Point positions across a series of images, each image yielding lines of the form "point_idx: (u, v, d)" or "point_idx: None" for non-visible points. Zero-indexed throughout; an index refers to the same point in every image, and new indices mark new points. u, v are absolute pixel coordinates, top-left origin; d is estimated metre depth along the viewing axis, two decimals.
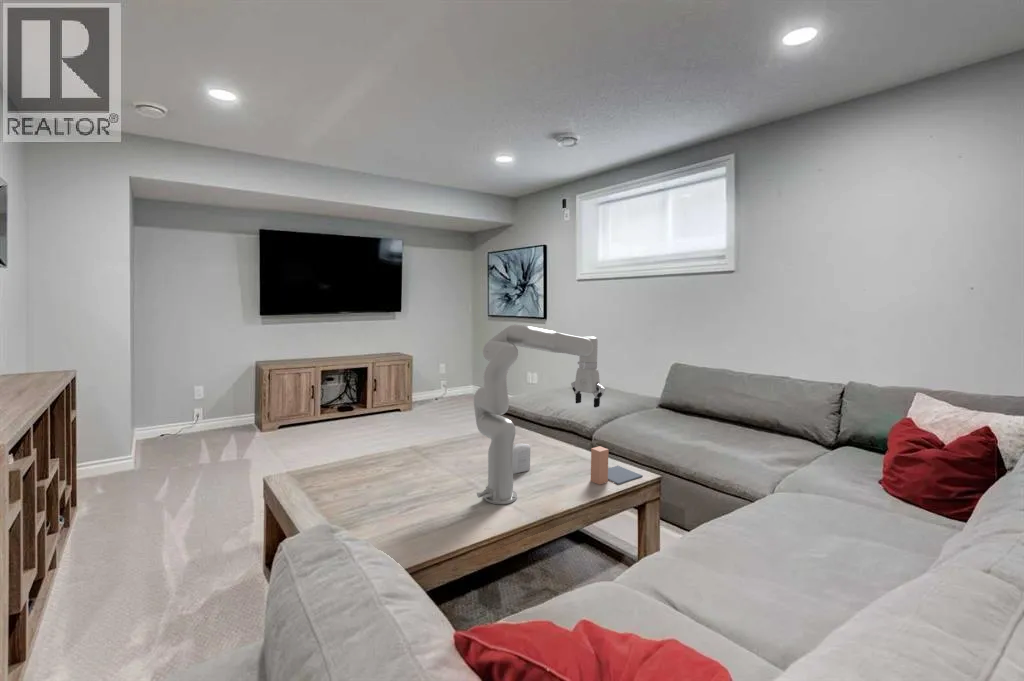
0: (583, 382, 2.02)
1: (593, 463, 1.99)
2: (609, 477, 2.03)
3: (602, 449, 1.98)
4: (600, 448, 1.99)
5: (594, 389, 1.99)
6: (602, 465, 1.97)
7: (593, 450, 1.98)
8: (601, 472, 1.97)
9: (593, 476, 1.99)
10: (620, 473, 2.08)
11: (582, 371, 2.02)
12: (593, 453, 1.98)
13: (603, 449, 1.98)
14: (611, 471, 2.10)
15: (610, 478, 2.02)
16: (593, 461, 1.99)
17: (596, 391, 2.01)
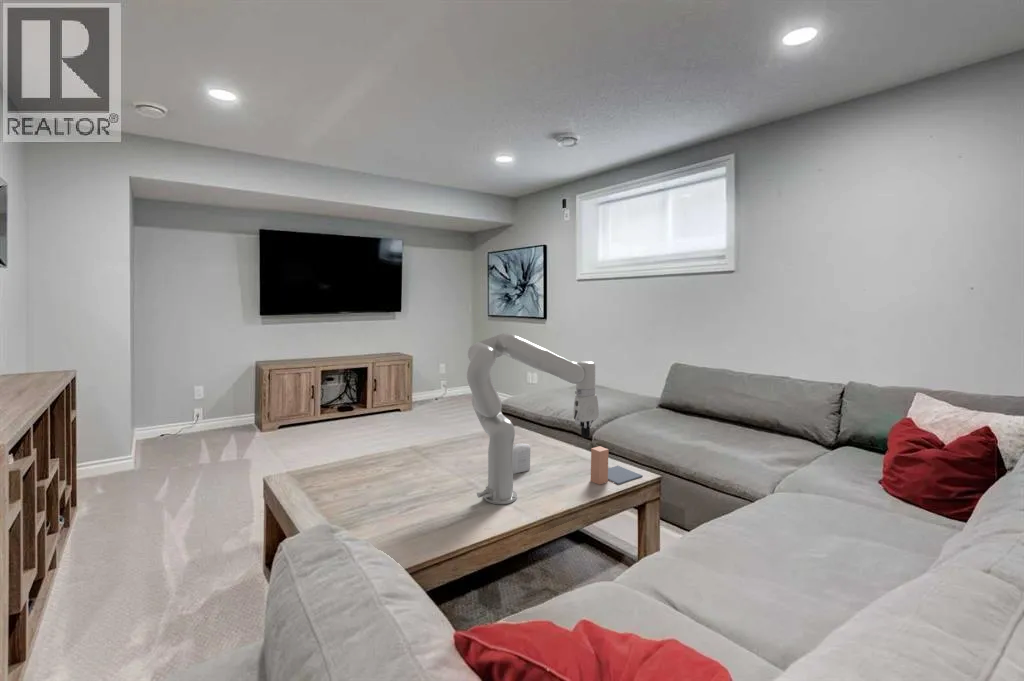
0: (590, 410, 1.89)
1: (593, 463, 1.99)
2: (609, 477, 2.03)
3: (602, 449, 1.98)
4: (600, 448, 1.99)
5: None
6: (602, 465, 1.97)
7: (593, 450, 1.98)
8: (601, 472, 1.97)
9: (593, 476, 1.99)
10: (620, 473, 2.08)
11: (588, 399, 1.89)
12: (593, 453, 1.98)
13: (603, 449, 1.98)
14: (611, 471, 2.10)
15: (610, 478, 2.02)
16: (593, 461, 1.99)
17: None
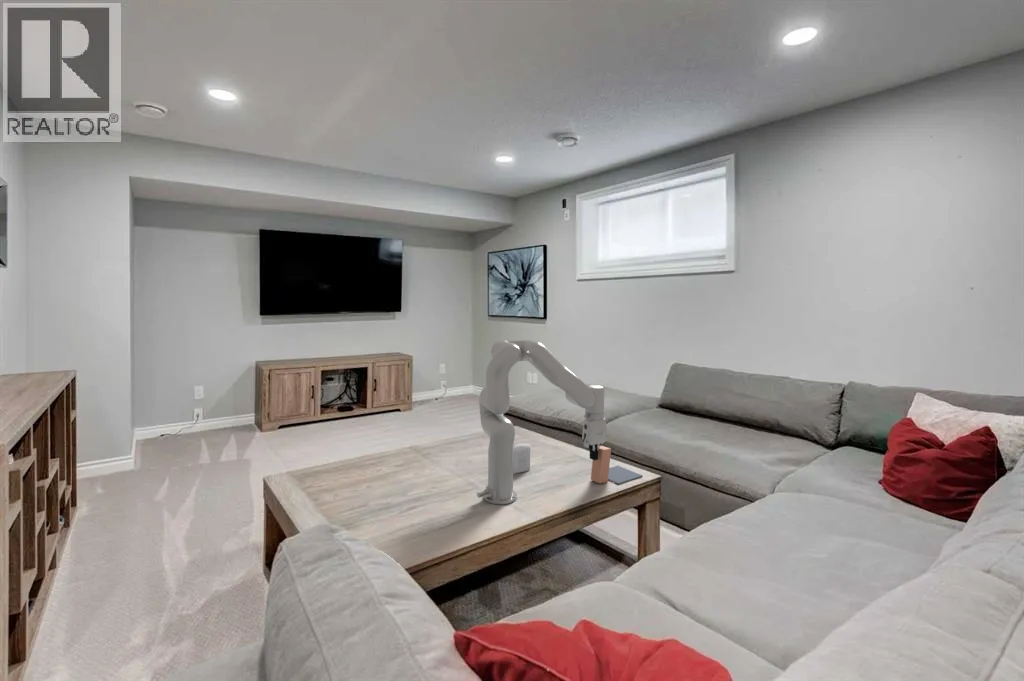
0: (598, 433, 1.93)
1: (594, 461, 1.99)
2: (609, 477, 2.03)
3: (605, 448, 1.98)
4: (603, 447, 2.00)
5: None
6: (603, 464, 1.97)
7: None
8: (602, 471, 1.97)
9: (594, 475, 1.99)
10: (620, 473, 2.08)
11: (597, 423, 1.93)
12: None
13: (606, 448, 1.99)
14: (611, 471, 2.10)
15: (610, 478, 2.02)
16: None
17: None
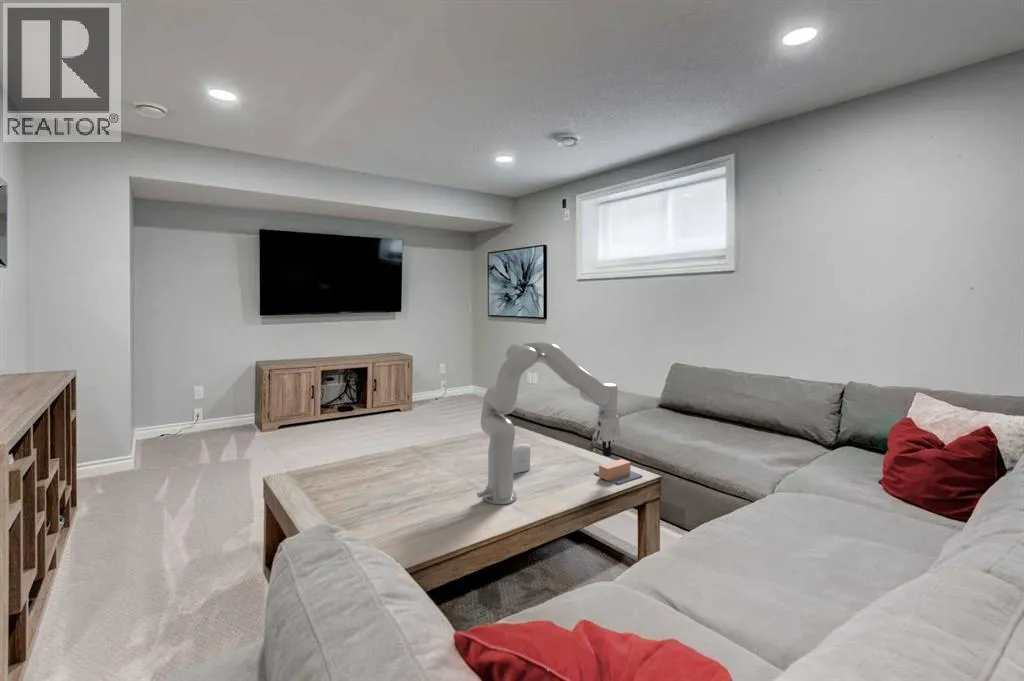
0: (612, 430, 1.98)
1: (614, 462, 2.06)
2: None
3: None
4: None
5: None
6: (620, 468, 2.03)
7: (623, 460, 2.10)
8: (615, 469, 2.02)
9: (605, 465, 2.03)
10: None
11: (611, 420, 1.97)
12: (621, 460, 2.09)
13: None
14: None
15: None
16: (616, 462, 2.07)
17: None
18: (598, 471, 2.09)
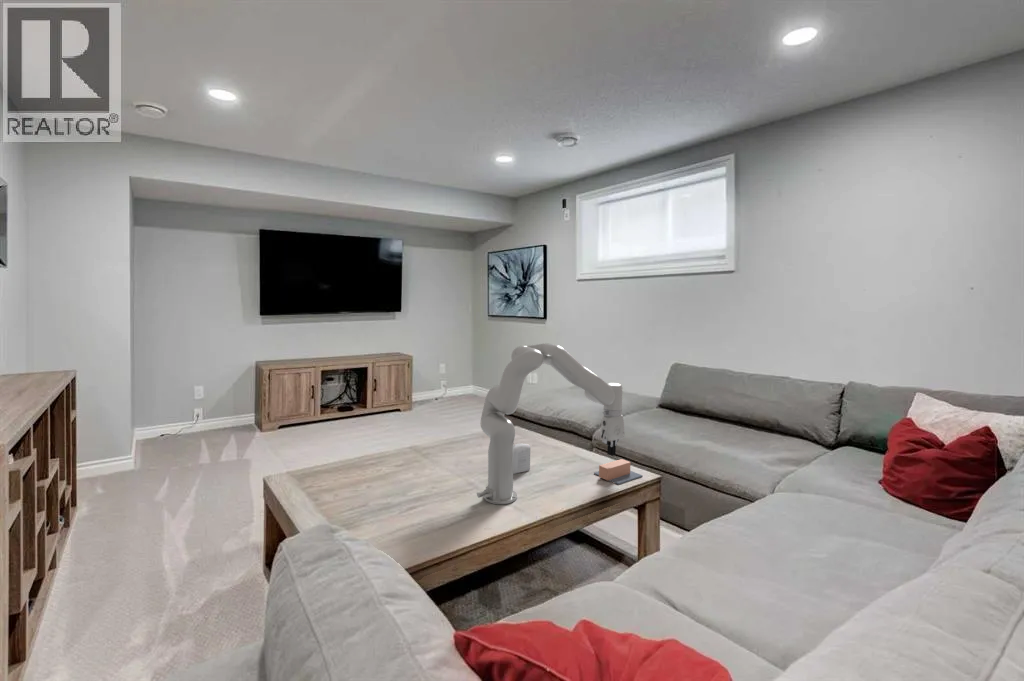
0: (616, 430, 2.00)
1: (614, 462, 2.06)
2: None
3: None
4: None
5: None
6: (620, 468, 2.03)
7: (623, 460, 2.10)
8: (615, 469, 2.02)
9: (605, 465, 2.03)
10: None
11: (615, 419, 1.99)
12: (621, 460, 2.09)
13: None
14: None
15: None
16: (616, 462, 2.07)
17: None
18: (598, 471, 2.09)
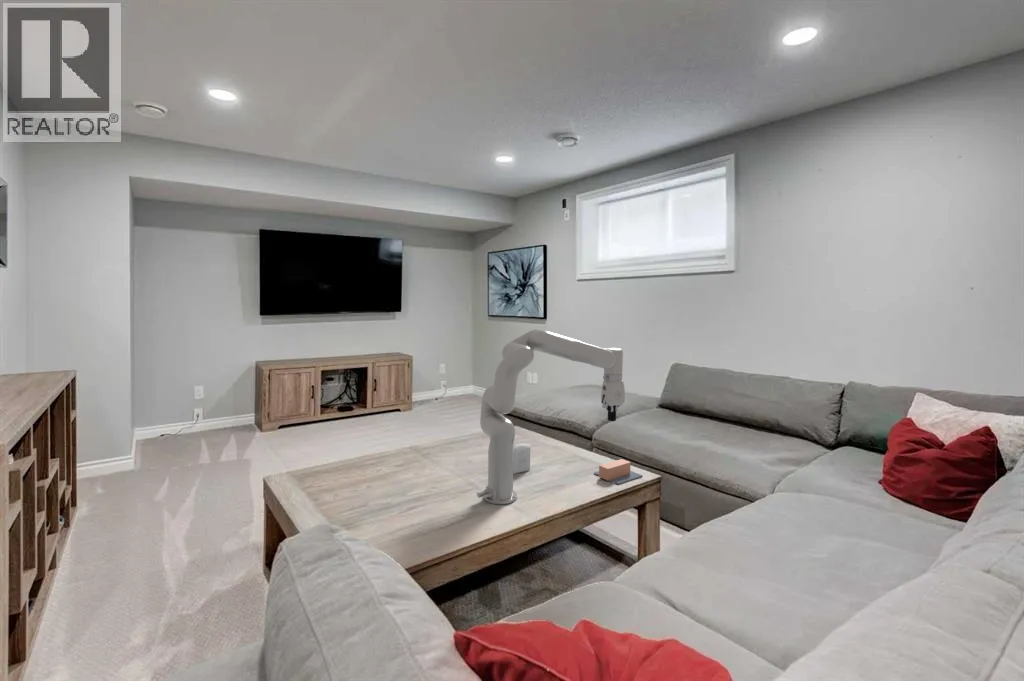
0: (617, 395, 1.98)
1: (614, 462, 2.06)
2: None
3: None
4: None
5: None
6: (620, 468, 2.03)
7: (623, 460, 2.10)
8: (615, 469, 2.02)
9: (605, 465, 2.03)
10: None
11: (616, 384, 1.97)
12: (621, 460, 2.09)
13: None
14: None
15: None
16: (616, 462, 2.07)
17: (615, 404, 2.02)
18: (598, 471, 2.09)
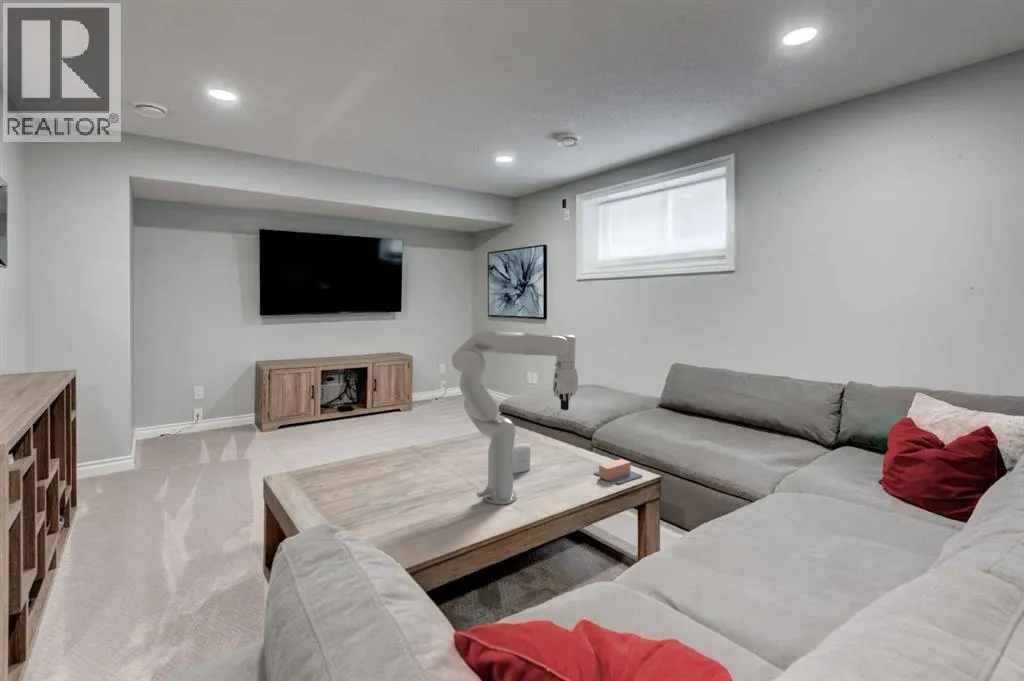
0: (569, 383, 1.93)
1: (614, 462, 2.06)
2: None
3: None
4: None
5: None
6: (620, 468, 2.03)
7: (623, 460, 2.10)
8: (615, 469, 2.02)
9: (605, 465, 2.03)
10: None
11: (568, 372, 1.92)
12: (621, 460, 2.09)
13: None
14: None
15: None
16: (616, 462, 2.07)
17: (568, 393, 1.97)
18: (598, 471, 2.09)
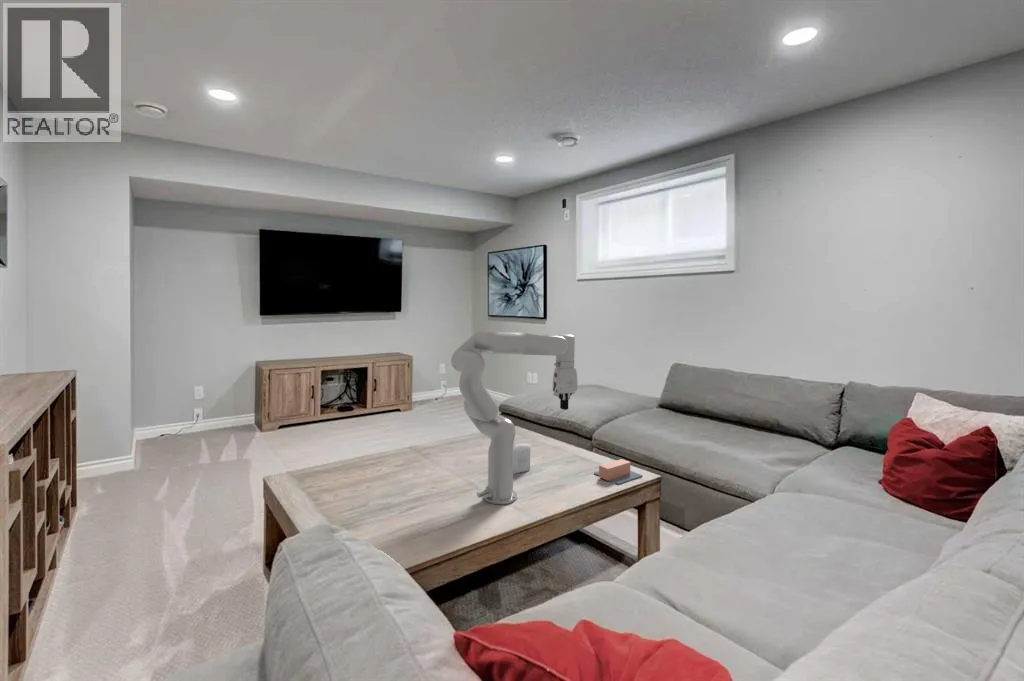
0: (569, 382, 1.92)
1: (614, 462, 2.06)
2: None
3: None
4: None
5: None
6: (620, 468, 2.03)
7: (623, 460, 2.10)
8: (615, 469, 2.02)
9: (605, 465, 2.03)
10: None
11: (567, 371, 1.92)
12: (621, 460, 2.09)
13: None
14: None
15: None
16: (616, 462, 2.07)
17: (568, 392, 1.97)
18: (598, 471, 2.09)
